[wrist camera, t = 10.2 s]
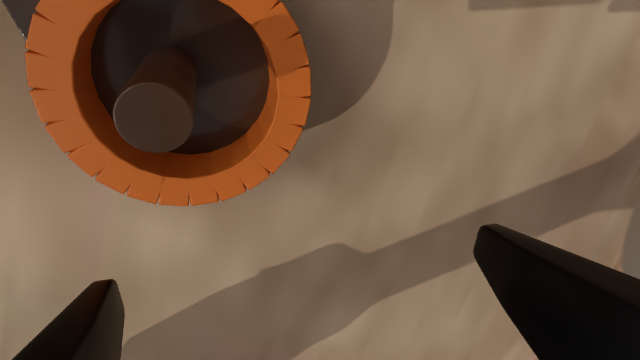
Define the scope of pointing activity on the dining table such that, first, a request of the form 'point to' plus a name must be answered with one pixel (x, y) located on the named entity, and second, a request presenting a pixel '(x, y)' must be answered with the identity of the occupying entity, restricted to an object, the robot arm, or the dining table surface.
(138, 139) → the peg stand
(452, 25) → the dining table surface
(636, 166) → the dining table surface
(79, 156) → the toy tire
